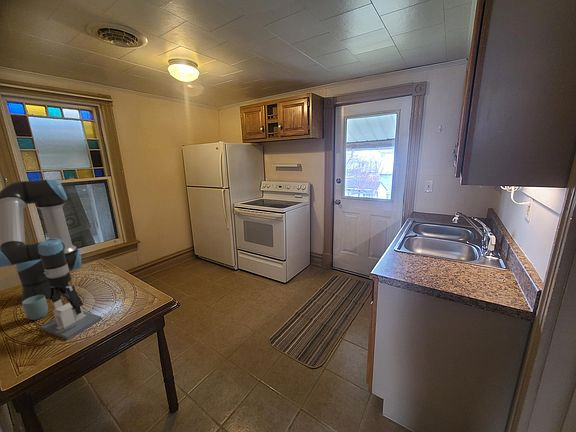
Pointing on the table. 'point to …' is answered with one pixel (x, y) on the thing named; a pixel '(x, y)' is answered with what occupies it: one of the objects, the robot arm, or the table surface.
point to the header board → (71, 326)
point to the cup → (35, 307)
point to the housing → (65, 315)
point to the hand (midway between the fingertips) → (69, 316)
